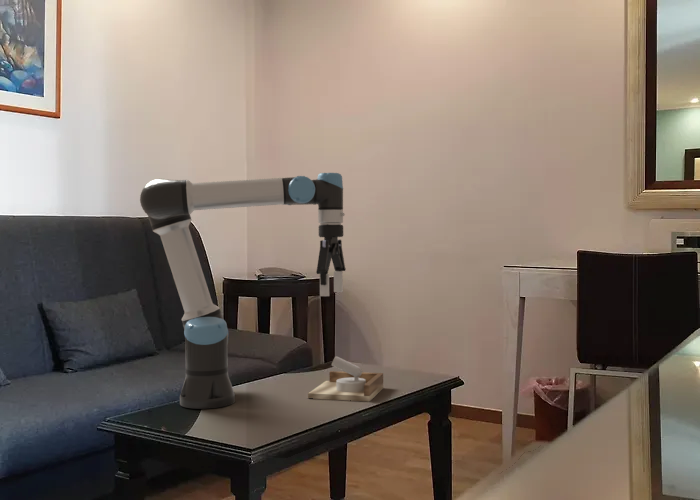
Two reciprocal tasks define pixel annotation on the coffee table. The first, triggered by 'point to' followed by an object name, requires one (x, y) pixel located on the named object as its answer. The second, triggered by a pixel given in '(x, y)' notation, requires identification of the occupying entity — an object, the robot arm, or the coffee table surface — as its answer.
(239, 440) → the coffee table surface
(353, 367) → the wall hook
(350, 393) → the wooden corner jig board
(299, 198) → the robot arm
